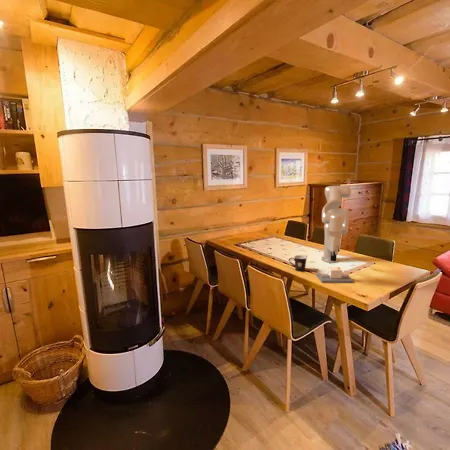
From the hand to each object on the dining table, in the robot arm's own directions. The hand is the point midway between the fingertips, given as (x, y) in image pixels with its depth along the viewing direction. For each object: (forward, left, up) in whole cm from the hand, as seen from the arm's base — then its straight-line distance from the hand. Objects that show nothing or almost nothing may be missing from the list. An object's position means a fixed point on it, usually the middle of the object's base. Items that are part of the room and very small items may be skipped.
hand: (333, 260), depth 180 cm
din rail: (0, +1, -11) cm, 11 cm away
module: (0, +2, -11) cm, 11 cm away
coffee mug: (-18, -18, -13) cm, 29 cm away
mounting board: (0, +2, -13) cm, 13 cm away
